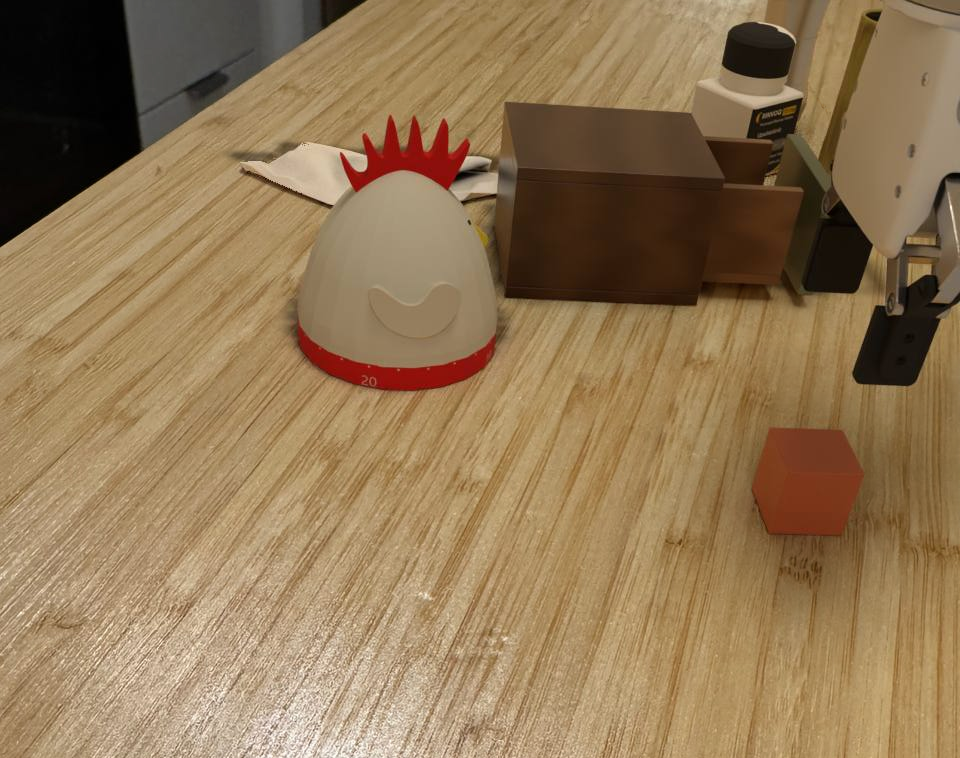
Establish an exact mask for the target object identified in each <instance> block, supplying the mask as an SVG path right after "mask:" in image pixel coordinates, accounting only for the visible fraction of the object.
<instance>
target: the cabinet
mask: <svg viewBox="0 0 960 758" xmlns="http://www.w3.org/2000/svg"><path fill="white" fill-rule="evenodd" d="M497 174H498V184H497V193H496V198H495V207H494V220H493V226H494V232H495V239H496V245H497V252H498V260H499V266H500V272H501V279H502V286H503V293H504V297H505V298H509V299H510V298H511V299H512V298H514V299H533V300H534V299H535V300H536V299H537V300H557V301H559V300H560V301H583V302H602V303H603V302H605V303H623V304H624V303H626V304H631V303H632V304H647V305H648V304H651V305H671V306H672V305H673V306H674V305H675V306H694V307H695V306H697V305H698V301H699V298H700V297H699V296H700V293H701V288H702V283H703V282H702V279H703V274H704V270H705V265H706V261H707V257H708V252H709V248H710V243H711V239H712V234H713V230H714V225H715V221H716V217H717V212H718V208H719V203H720V199H721V194H722V190H723V186H724V182H725V177H724V175H723V173H722V171H721V170H720V168H719V166H718V164H717V162H716V160H715V158H714V156H713V154H712V152H711V150H710V148H709V146H708V144H707V143H706V141H705V139H704V137H703V135H702V133H701V131H700V129H699V127H698V125H697V123H696V121H695V119H694V117H693V116H692V114H691V112H686V111H684V112H683V111H667V110H650V109H633V108H632V109H631V108H619V107H617V108H616V107H601V106H584V105H569V104H568V105H567V104H552V103H551V104H549V103H536V102H535V103H534V102H518V101H517V102H516V101H504V103H503V115H502V128H501V140H500V151H499V161H498V173H497Z"/></svg>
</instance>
